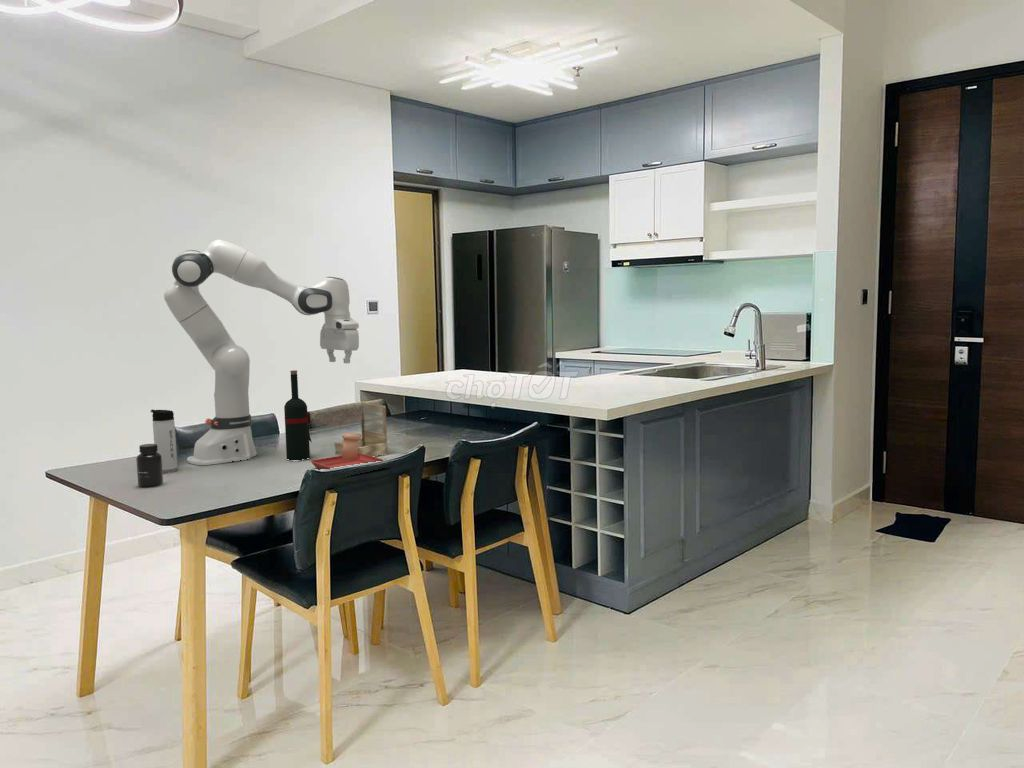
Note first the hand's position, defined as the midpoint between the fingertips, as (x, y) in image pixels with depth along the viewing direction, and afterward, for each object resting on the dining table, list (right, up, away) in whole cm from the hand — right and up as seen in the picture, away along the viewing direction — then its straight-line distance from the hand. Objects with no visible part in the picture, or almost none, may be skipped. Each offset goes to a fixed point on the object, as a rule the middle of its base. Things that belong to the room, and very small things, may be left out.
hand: (339, 362), depth 271 cm
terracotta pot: (+9, -31, -28) cm, 43 cm away
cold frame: (+9, -32, -6) cm, 34 cm away
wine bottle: (-11, -33, -10) cm, 36 cm away
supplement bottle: (-46, -38, -44) cm, 74 cm away
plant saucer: (+9, -35, -28) cm, 46 cm away
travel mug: (-49, -36, -26) cm, 66 cm away
